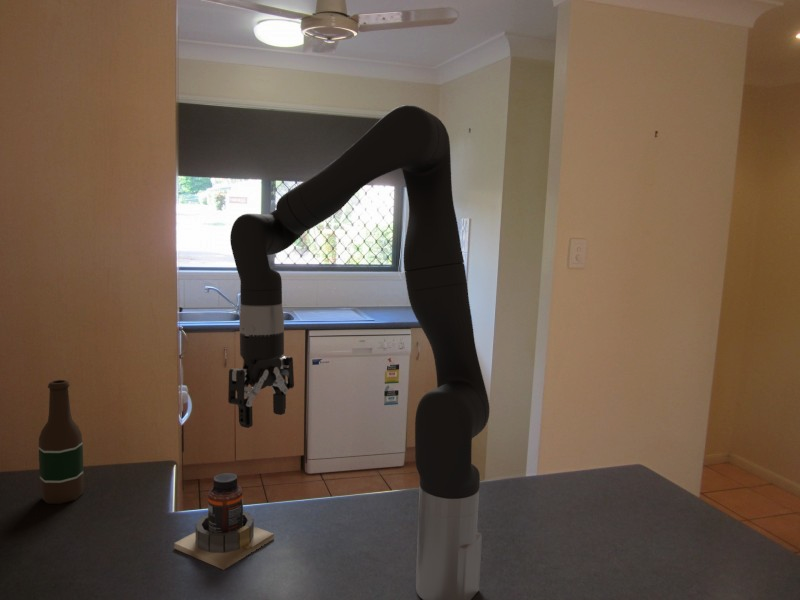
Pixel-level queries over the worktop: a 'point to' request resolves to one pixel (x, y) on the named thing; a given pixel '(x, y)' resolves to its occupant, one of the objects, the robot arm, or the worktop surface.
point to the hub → (223, 542)
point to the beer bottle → (60, 450)
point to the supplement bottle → (225, 504)
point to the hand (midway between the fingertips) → (263, 420)
